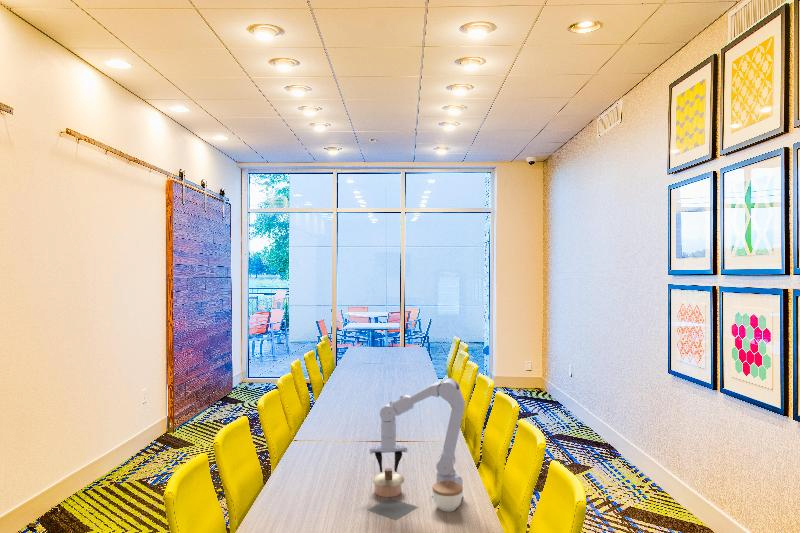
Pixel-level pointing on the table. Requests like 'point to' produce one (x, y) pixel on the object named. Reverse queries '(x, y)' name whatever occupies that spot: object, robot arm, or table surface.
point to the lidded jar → (447, 495)
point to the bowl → (388, 490)
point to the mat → (392, 508)
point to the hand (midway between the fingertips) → (388, 471)
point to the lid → (388, 479)
